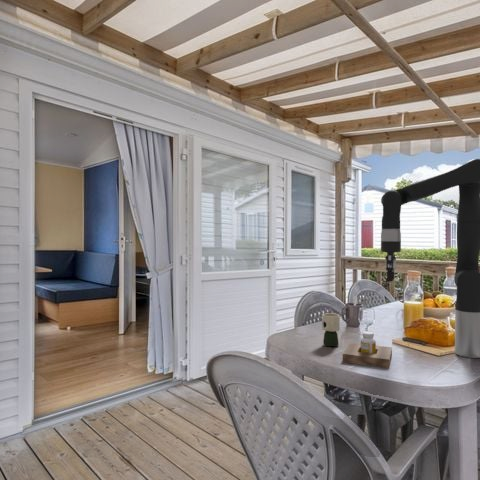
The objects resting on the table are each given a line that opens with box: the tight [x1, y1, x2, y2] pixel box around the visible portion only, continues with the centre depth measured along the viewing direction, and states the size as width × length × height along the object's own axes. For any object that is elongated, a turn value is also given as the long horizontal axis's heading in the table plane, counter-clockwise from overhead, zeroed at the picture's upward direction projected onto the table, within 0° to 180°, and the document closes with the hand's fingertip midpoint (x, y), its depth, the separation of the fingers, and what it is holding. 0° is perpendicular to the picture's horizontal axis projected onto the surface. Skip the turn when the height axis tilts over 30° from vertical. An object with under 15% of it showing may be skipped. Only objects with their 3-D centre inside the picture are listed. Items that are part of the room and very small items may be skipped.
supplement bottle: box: [360, 331, 377, 354], centre depth 144 cm, size 5×5×10 cm
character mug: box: [321, 312, 341, 348], centre depth 160 cm, size 11×7×13 cm, turn 175°
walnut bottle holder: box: [342, 342, 393, 369], centre depth 144 cm, size 16×16×3 cm
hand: (390, 280), depth 155 cm, fingers open, 8 cm apart
